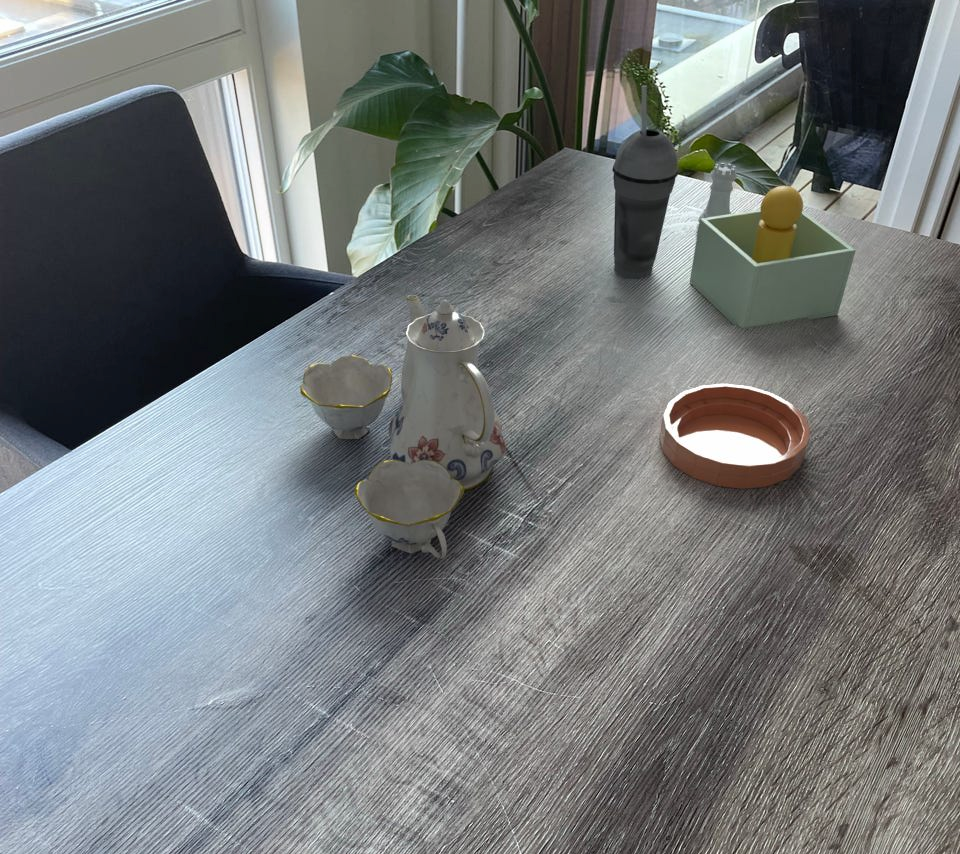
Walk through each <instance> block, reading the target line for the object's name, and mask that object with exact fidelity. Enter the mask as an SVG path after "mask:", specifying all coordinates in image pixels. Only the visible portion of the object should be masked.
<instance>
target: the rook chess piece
mask: <svg viewBox="0 0 960 854" xmlns="http://www.w3.org/2000/svg"><path fill="white" fill-rule="evenodd" d="M736 168H737V167H736V165H733V164H732V163H727V165H726V166H725V162H720V163H715V164H714V168H713V169H712V170H711V171H710V174H709V176H710V178H711V179H712V183H711V184H710V185H709V189H710V194H709V198H708V201H707V204H706V207H705V208H704V209H703V211H702V213H701V214H699V217H698V220H697V221H698V224H697V225H696V230H697V231H698V228H699V222H700V219H701V218H708V217H714V216H721V215H728V214H732V212H731V208H730V206H731V194H732V191H734V187H733V183H734V181H735V180H737V178H738V174H737V172H736Z"/></svg>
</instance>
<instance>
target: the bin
mask: <svg viewBox="0 0 960 854" xmlns="http://www.w3.org/2000/svg"><path fill="white" fill-rule="evenodd" d="M761 220H762V218H761V213H760V209H755V210H748V211H741V212H735V213H731V214H728V215H721V216H714V217H708V218H701V219H700V222H699V221H698V224H699V228H698V230H697V233H696V234H697V235H696V241H695V247H694V253H693V258H692V264H691V265H692V266H691V270H690V278H689V283H690V284H691V285H692V287H694V288H695V289H696V290H697V291H698V292H699V293H700V294H701V295H702V296H703V297H704V298H705V299H706V300H707V301H708V302H709V303H710V304H711V305H712V306H714V307H715V308H716V309H717V311H718V312H720V314H722V315H723V316H724V317H725V318H726V319H727V320H728V321H729V322H730V323H731V324H732V325H733V326H734V325H737V326H739V327H740V328H741V329H750V328H755V327H760V326H767V325H772V324H776V323H783V322H789V321H793V320H799V319H804V318H805V319H806V318H807V319H808V320H809V321H814V320H818V319H823V318H829V317H834V316H838V315H839V311H840V308H841V305H842V301H843V297H844V294H845V291H846V286H847V283H848V279H849V277H850V276H849V275H850V272H851V268H852V266H853V262H854V258H855V254H856V249H855V248H854V247H852V246H851V245H849V244H848V243H847V242H846V241H844V240H843V239H842V238H841V237H839V236H837V235H836V234H835V233H833V231H831V230H829V229H828V228H827V227H826V226H824V225H823V224H822V223H821V222H819V221H818V220H816V219H815V218H814V217H813V216H811V215H810V214H808V213H807V212H806V211H804V210H803V211H802V214H801V216H800V218H799V220H798V221H797V222H796V223H795V224H796V226H797V228H796V232H795V237H794V241H793V245H792V250H791V254H790V258H789V259H782V260H776V261H770V262H764V263H758V264H757V263H756V262H755V261H754V260H753V259H752V255H753V250H754V245H755V241H756V236H757V231H758V226H759V222H760V221H761Z"/></svg>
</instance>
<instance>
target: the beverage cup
mask: <svg viewBox="0 0 960 854" xmlns="http://www.w3.org/2000/svg"><path fill="white" fill-rule="evenodd" d="M647 87H648V86H647V85H646V84H644V85H641V130H637V131H636V132H632V133H631V134H630V135H629V136H628V137H627V138H626V139H625V140H624V141H623V142H622V143H621V145H620V146H619V148H618V150H617V152H616V156H615V160H614V162H613V165H612V169H611V170H612V173H613V176H612V177H613V178H612V179H613V188H614V222H613V223H614V224H613V225H614V227H613V229H614V230H613V235H614V236H613V264H614V266H613V270H614V272H615V274H617V275H619V276H621V277H623V278H627V279H643V278H647V277H649V276H651V274H652V273H653V267H654V264H655V261H656V259H657V253H658V249H659V245H660V241H661V236H662V232H663V227H664V223H665V219H666V214H667V210H668V205H669V202H670V197H671V194H672V193H673V189H674V187H675V183H676V178H677V177H678V176H679V166H678V163H679V162H678V154H677V151H676V147H675V146H674V144H673V142H672V141H671V139H670V138H669V137H668V136H667V135H666V134H665V133H663V132H661V131H660V130H656V129H653V128H652V129H651V128H647V99H648V97H647V96H648V95H647V93H648V91H647Z"/></svg>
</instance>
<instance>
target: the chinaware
mask: <svg viewBox="0 0 960 854" xmlns="http://www.w3.org/2000/svg"><path fill="white" fill-rule="evenodd" d="M406 302H407V306H408V310H409V317H410V323H409V324H408V325H407V327H406V330H405V335H406V337H407V342H406V348H405V353H404V356H403V357H404V358H403V362H402V370H401V380H400V381H401V382H400V391H401V392H400V393H401V396H402V401H403V403H402V405H401V406H400V407H399V409H398V410H397V411H396V412H395V415H393V418H392V419H391V420H390V422H389V425H388V433H389V434H388V435H389V439H390V447H389V456H390V460H383V461H381V462H380V463H378V464H377V465H375V466H374V467H373V468H372V470H371V471H370V473H369V474H368V476H367V478H364V479H363V480H360V481H359V482H357V485H356V487H354V490H353V493H354V496H355V498H356V500H357V501H358V503H359V505H360V506H361V507H362V508H363V510H364V511H365V513H367V514H368V517H369V519H370V521H371V524H372V525H373V526H374V528H375V530H376V531H377V532H378V533H379V534H380V535H382V536H383V537H384V538H386V539H387V540H389V541H390V542H391V545H390V546H391V547H392V548H395V549H397V550H399V551H402V552H406V553H408V554H409V555H410V554H411V555H412V554H414V553H416V552H420V551H421V552H422V553H423V554H428V553H431V554H432V555H433V557H435V559H438V560H442V559H444V558H445V557H446V555H447V552H448V546H447V540H446V536H445V534H444V532H443V530H444V528H445V527H446V525H447V524H448V522H449V519H450V517H451V515H452V511H453V509H455V508H456V506H457V505H458V503H459V502H460V500H461V498H462V496H463V495H464V493H465V492H466V491H469V490H472V489H475V488H476V487H479V486H481V485H482V484H483V483H485V482H486V481H487V480H488V479H489V478H490V476H491V474H492V472H493V469H494V465H496V464H497V463H498V462H499V461H501V459H503V458H504V456H505V454H506V451H507V447H506V443H505V440H504V436H503V424H502V420H501V418H500V416H499V414H498V413H497V412H496V410H495V407H494V400H493V396H492V393H491V389H490V387H489V385H488V383H487V381H486V379H485V377H484V375H483V373H482V372H481V371H480V370H479V367H478V364H479V361H478V359H479V351H480V346H481V343H482V340H483V339H484V337H485V332H486V330H485V328H484V327H483V325H482V323H481V322H480V321H478V320H476V319H475V318H473V317H472V316H469V315H465V314H462V313H459V312H458V311H456V310H455V307H454V306H453V305H451V303H450V301H449V300H448V299H443V300H441V301H440V302H439V304H438V306H436V307H435V310H434V311H432V312H431V313H428V314H425V312H424V308H423V304H422V302H421V300H420V298H419V296H418V295H416V294H410V295H407V296H406ZM392 384H393V371H392V369H391V368H390V367H387V366H386V365H384V364H372V363H371V362H369V360H367V359H366V358H364V357H361V356H359V355H354V354H350V355H345V356H340V357H339V358H337V359H336V360H333V362H331V363H326V362H325V363H324V362H316V363H314V364H311V365H309V366H308V367H307V368H306V369H305V371H304V373H303V379H302V384H301V385H300V387H299V389H300V395H301V397H303V399H306V400H308V401H309V402H310V404H311V406H312V409H313V411H314V413H315V414H316V416H317V418H319V419H320V420H321V422H323V423H324V424H325V425H327V426H329V427H330V429H331V430H332V432H333V433H334V435H335V436H337V438H338V439H343V440H359V439H361V438H362V437H364V436H365V435H366V434H367V433H368V432H369V431H371V427H370V425H372V424H373V423H374V422H375V421H376V420H377V419H378V417H379V416H380V415H381V413H382V411H383V409H384V406H385V403H386V399H387V398H388V396H389V394H390V392H391V388H392ZM436 536H437V539H438V543H439V546H440V553H439V552H438V551H437V550H436V549H435V548H434V547H433V545H432V544H431V542H432V539H434V538H435V537H436Z"/></svg>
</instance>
